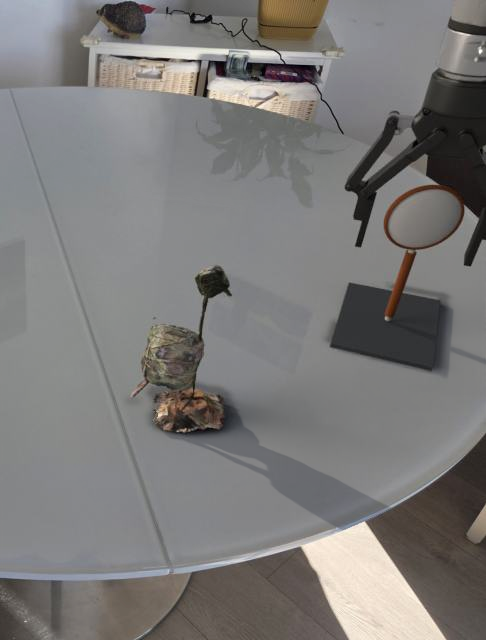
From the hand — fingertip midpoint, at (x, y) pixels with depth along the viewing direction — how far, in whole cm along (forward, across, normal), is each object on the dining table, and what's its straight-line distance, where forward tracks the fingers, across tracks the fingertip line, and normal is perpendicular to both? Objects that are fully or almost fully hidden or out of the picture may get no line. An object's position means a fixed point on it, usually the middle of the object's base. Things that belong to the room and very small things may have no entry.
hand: (411, 251), depth 81 cm
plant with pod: (+12, -20, -28) cm, 36 cm away
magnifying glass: (+11, 0, 0) cm, 11 cm away
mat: (+12, 0, 0) cm, 12 cm away
